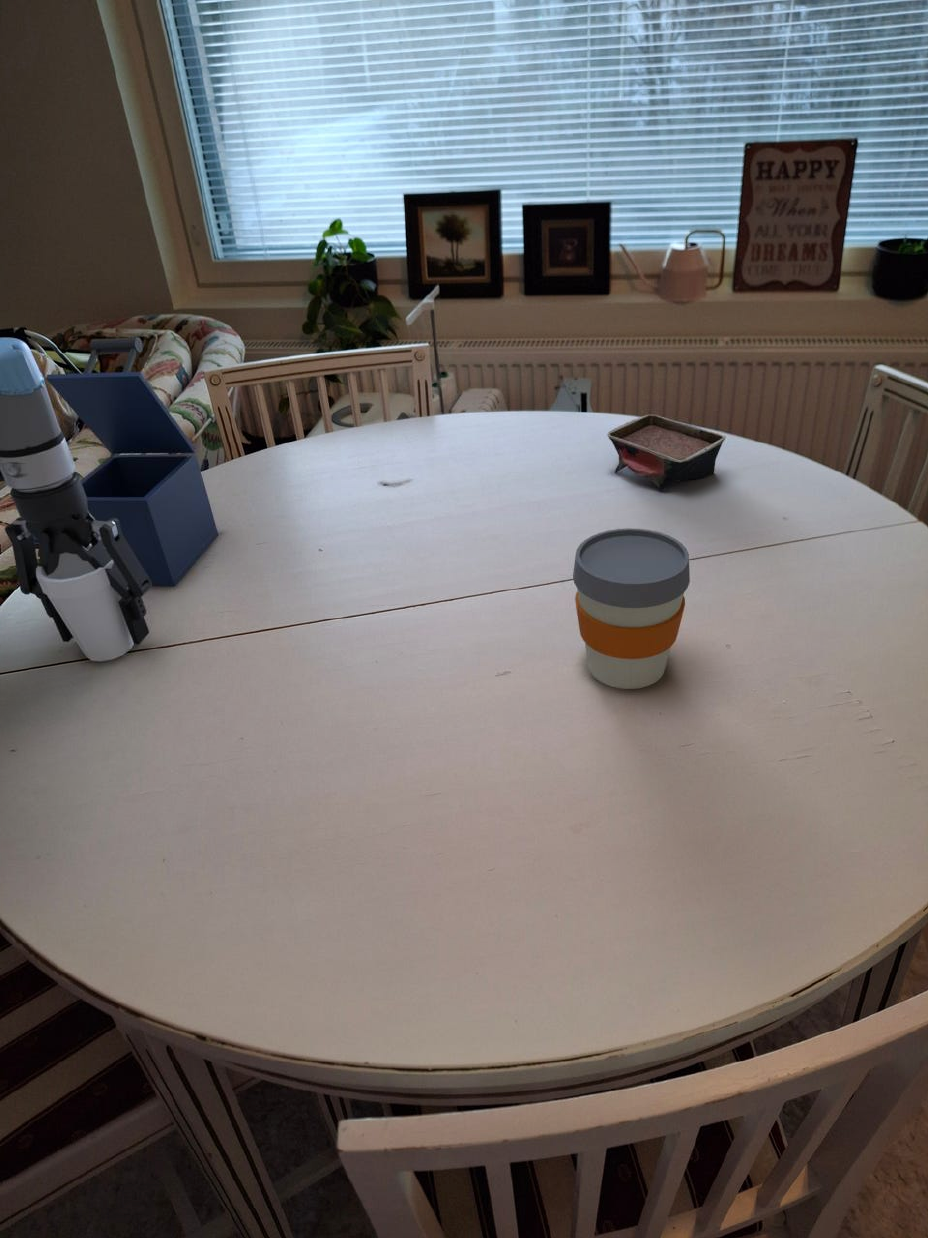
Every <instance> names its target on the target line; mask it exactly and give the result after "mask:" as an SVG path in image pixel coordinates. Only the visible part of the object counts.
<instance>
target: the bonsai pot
mask: <svg viewBox="0 0 928 1238" xmlns="http://www.w3.org/2000/svg"><path fill="white" fill-rule="evenodd" d="M606 435H607V438H608V440H610V441H611V442H612V445H613V447H614V448H615V451H616V453H617V455H618V464H617V465H616V468H615V470H614V474H617V473H619V472H620V471H622V470H624V469H625V468H628V469H630V470H631V471H633V472H634V473H635V474H637V475H640V476H642V477H644V478H646V479H647V480H649V481H651V482H652V483H653V484H654V485H656V487H658V488H659V489H660V490H661V491H664V490H666V489H667V488H669V487H671V486H672V485H673V484H675V483H677V482H678V481H681V482H682V481H691V480H698V479H699V480H700V479H705V478H707V477H710V476H712V475H715V468H716V461H717V457H718V454H719V453H720V451H721V448H722V445H723V443H724V442H725V440H726V438H727V437H726V436H725V435H724V434H720V433H718V432H714V431H710V430H707V429H703V428H701V427H697V426H694V425H691V424H689V423H685V422H681V421H677V420H674V419H671V418H667V417H663V416H660V415H659V414H650V413H648V414H646V415H643V416H639V417H637V418H634V419H632V420H630V421H627V422H625V423H623V424H620V425H619V426H616V427H615V428H613V429H611V430H610V431H608V432H607V434H606Z"/></svg>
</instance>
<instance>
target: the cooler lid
mask: <svg viewBox="0 0 928 1238" xmlns="http://www.w3.org/2000/svg"><path fill="white" fill-rule="evenodd" d="M89 348H90V355H89V357H88V360H87V362H86V365H85V368H84V370H83V373H53V374H50V373H49V374H47V375H46V377H45V380H46V381H47V382H48V384H49V385H50V386H51V387H52V388H53V389H54V390H55V391H56V393H57V394H58V395H59V396H60V397H61V398H62V399H63V400H64V402H65V403H66V404H67V405H68V406H69V407H70V409H72V411H73V412H74V413H75V414H76V416H78V418H79V419H80V420H81V421H82V422H83V424H85V425H86V427H87V428H88V429H89V430H90V431H91V432H92V433H93V435H94V436H95V437H96V439H98V440H99V441H100V443H101V444H102V445H103V446H104V448H106V449H107V451H108V452H109V453H110V454H111V455H140V454H196V451H197V449H196V447H195V446H194V445H193V443H192V442H191V440H190V439H189V438H188V436H187V434H186V433H185V432H184V430H183V429H182V428H181V426H180V425H179V424H178V422H177V421H176V419H175V418H174V417H173V415H172V414H171V412H170V411H169V410H168V408H167V407H166V406H165V404H164V403H163V401H162V400H161V398H160V397H159V396H158V394H157V393H156V391H155V390H154V389H153V387H152V386H151V385H150V383H149V382H148V380H147V379H146V378H145V376H144V375H143V373H142V372H141V371H132V368H133V365H134V363H135V360H136V357H137V354H140V353H142V352H143V349H144V345H143V341H142V339H141V338H140V337H123V338H119V337H117V338H95V339H91V340H90V341H89ZM110 354H111V355H112V354H113V355H114V354H128V356H127V359H126V361H125V363H124V366H123V370H122V371H121V372H93V370H94V367H95V364H96V362H97V359H98V357H99V355H110Z"/></svg>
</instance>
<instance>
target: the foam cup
mask: <svg viewBox="0 0 928 1238" xmlns="http://www.w3.org/2000/svg"><path fill="white" fill-rule="evenodd" d="M91 547H92V545H91V543H90V545H89V546H88V547H87V548H86V549H87V550H89V549H90V548H91ZM113 563H114V561H113V560H111V561H110V562H109V563H108V564H107V565H106V566H105V567H104V568H98V569H97V570H95V568H94V567H93V566H92V565H91V564H90V563H89V562H88V561H83V560H82V559H81V558H80V557H79V556H78V555H77V554H70V553H63V554H60V557H59V564H58V567H57V568H56V570H55V571H54V572H53V573H52V574H50V575H48V576H47V575H46V573H45V571H44V569H43V567H39V565H38V567H37V568H36V577H37V579H38V581H39V584H40V586H41V588H42V591H43V593H45V594H46V595H47V596H48V597H49V599H50V601H51V602H52V604H53V605H54V607H55V609H56V610H57V612H58V613H59V615H60V617H61V618H62V620H63V621H64V623H65V624H66V626H67V628H68V629H69V631H70V632H71V634H72V636H73V640H75V642H76V643H77V645H78V647H79V648H80V650H81V651H82V653H83V654H84V655H85V657H86V658H87V659H89V660H90V661H92V662H105V661H111V660H114V659H117V658H119V657H121V656H123V655H125V654H126V653H128V652H129V651H130V650H131V649H133V646H134V645H135V644H134V643H133V640H132V637H131V635H130V632H129V629H128V627H127V624H126V622H125V619H124V616H123V614H122V611H121V608H120V606H119V603H118V602H119V601H120V600H121V599H122V597H121V596H120V595H119V594H118V593H117V592H116V591H115V590H114V589H113V587H112V586H111V585H110V581H109V579H108V576H107V574H106V571H105V569H107V568H112V565H113Z"/></svg>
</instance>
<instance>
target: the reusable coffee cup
mask: <svg viewBox="0 0 928 1238" xmlns="http://www.w3.org/2000/svg"><path fill="white" fill-rule="evenodd" d="M574 557H575V558H574V565H573V571H572V572H573V573H572V581H573V583H574V585H575V587H576V589H577V591H576V593H575V596H574V603H575V608H576V616H577V621H578V628H579V634H580V635H579V636H580V637H581V640H582V641H583V642H584V645H585V654H586V659H587V666H588V670H589V672H590V674H591V675H592V676H593V677H594V679H596V680H597V681H598V682H600V683H602V684H603V685H606V686H608V687H612V688H615V689H622V690H636V689H642V688H645V687H649V686H651V685H653V684H656V683H657V682H658V681H660V680H661V678H662V677H663V675H664V674H665V671H666V667H667V663H668V660H669V659H668V658H669V655H670V651H671V647H672V646H673V645H674V643H675V642H676V641H677V637H678V634H679V630H680V627H681V622H682V619H683V614H684V610H685V608H686V607H685V606H686V597H685V595H684V594H685V592H686V591H687V589H688V588H689V585H690V582H691V578H690V576H691V575H690V554H689V551H688V549H687V547H686V546H685V545H684V544H683V543H682V542H680V541H679V540H678V539H676V538H675V537H672V536H670V535H668V534H665V533H662V532H661V531H656V530H651V529H644V528H628V527H626V528H615V529H610V530H605V531H601V532H598V533H596V534H593V535H591V536H589V537H587V538H586V539H584V540H583V541H582V542H580V544H579V545H578V547H577V548H576V551H575V556H574Z"/></svg>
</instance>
